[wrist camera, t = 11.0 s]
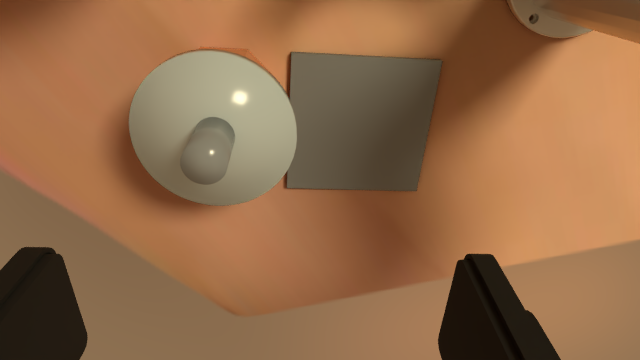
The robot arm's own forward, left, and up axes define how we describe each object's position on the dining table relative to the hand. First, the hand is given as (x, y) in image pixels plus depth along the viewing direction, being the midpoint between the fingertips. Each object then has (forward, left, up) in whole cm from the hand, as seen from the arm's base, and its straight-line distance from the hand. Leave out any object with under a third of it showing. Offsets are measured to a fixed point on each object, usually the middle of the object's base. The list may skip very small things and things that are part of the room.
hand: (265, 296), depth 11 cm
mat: (-8, +8, -32) cm, 34 cm away
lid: (+5, +6, -25) cm, 27 cm away
